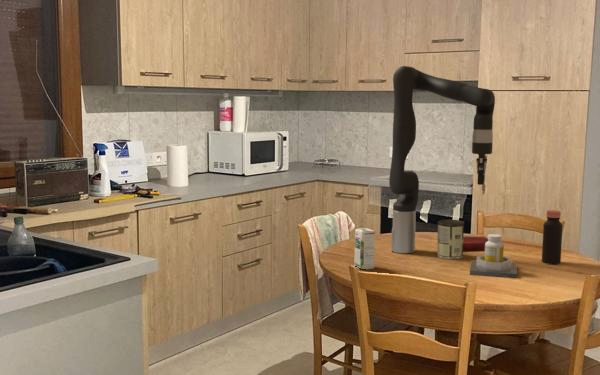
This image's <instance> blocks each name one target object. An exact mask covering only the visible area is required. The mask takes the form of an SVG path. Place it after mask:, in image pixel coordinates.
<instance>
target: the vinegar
mask: <svg viewBox="0 0 600 375" xmlns="http://www.w3.org/2000/svg"><path fill="white" fill-rule="evenodd" d="M561 214H562V213H561V211H560V210H548V209H547V210H546V221H545V222H543V229H542V247H541V249H542V250H541V262H542V263H544V264H546V265H559V264H561V262H562V261H561V260H562V244H563V243H562V242H563V240H562V239H563V223H562V222H561V221H560V219H561Z"/></svg>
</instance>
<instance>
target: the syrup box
mask: <svg viewBox="0 0 600 375" xmlns="http://www.w3.org/2000/svg"><path fill="white" fill-rule="evenodd" d="M354 234H355V235H354V263H353V264H354V265H353V266H354V267H355V266H357V267H359V268H361V269H366V270H372V269H375V250H376V248H375V247H376V245H375V244H376V231H375V230H372V229H370V228H366V227H365V228H364V227H359V228H356V229H355V230H354ZM357 267H356V268H357ZM359 268H358V269H359Z"/></svg>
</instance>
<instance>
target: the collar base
mask: <svg viewBox="0 0 600 375" xmlns="http://www.w3.org/2000/svg"><path fill="white" fill-rule="evenodd" d="M517 267H518V266H517V262H512V258H511V257H508V256H504V255H503V262H491V261H485V254H481V255H476V259H471V262H470V268H469V275H473V276H485V277H499V278H501V277H502V278H513V279H517V278H518V269H517Z"/></svg>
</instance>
